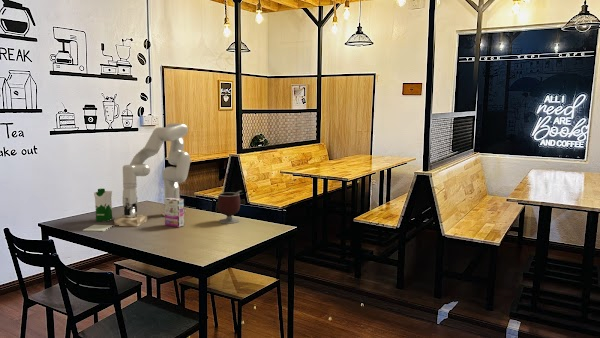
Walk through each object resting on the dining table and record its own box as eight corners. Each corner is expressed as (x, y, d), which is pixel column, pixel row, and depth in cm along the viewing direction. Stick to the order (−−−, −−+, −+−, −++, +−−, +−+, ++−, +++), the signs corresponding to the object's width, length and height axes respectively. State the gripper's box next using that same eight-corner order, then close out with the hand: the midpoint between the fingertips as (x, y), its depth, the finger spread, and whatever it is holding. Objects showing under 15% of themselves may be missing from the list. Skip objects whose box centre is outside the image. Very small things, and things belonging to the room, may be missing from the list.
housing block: (147, 220, 279) (147, 214, 278) (137, 226, 265) (137, 219, 264) (125, 220, 280) (125, 214, 279) (114, 225, 266) (114, 219, 265)
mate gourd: (213, 222, 275) (213, 190, 273) (224, 218, 288) (224, 187, 286) (236, 225, 270) (236, 192, 268) (246, 220, 283) (246, 188, 281)
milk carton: (93, 221, 276) (92, 189, 273) (101, 218, 285) (100, 187, 282) (107, 222, 275) (106, 189, 273) (114, 218, 284) (113, 187, 281)
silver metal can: (137, 222, 275) (136, 206, 273) (133, 224, 270) (132, 208, 269) (129, 222, 275) (128, 206, 274) (125, 224, 270) (124, 207, 269)
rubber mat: (113, 226, 265) (113, 225, 265) (103, 231, 253) (103, 230, 253) (94, 225, 266) (94, 224, 266) (82, 230, 254) (82, 229, 254)
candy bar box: (184, 226, 267) (184, 198, 265) (178, 227, 262) (178, 200, 261) (170, 223, 272) (170, 197, 270) (164, 225, 268) (163, 198, 266)
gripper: (130, 183, 278) (131, 210, 280) (116, 187, 261) (117, 216, 263) (142, 183, 278) (142, 210, 280) (129, 187, 261) (130, 216, 263)
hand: (130, 213), depth 272 cm, fingers open, 9 cm apart
